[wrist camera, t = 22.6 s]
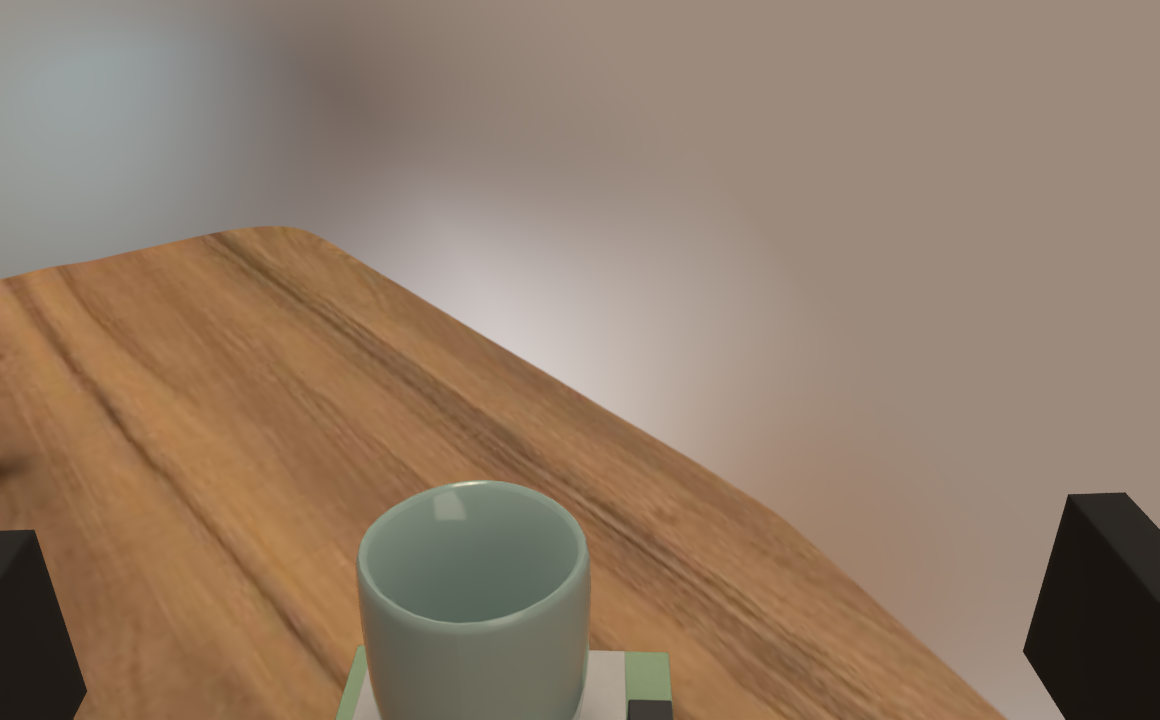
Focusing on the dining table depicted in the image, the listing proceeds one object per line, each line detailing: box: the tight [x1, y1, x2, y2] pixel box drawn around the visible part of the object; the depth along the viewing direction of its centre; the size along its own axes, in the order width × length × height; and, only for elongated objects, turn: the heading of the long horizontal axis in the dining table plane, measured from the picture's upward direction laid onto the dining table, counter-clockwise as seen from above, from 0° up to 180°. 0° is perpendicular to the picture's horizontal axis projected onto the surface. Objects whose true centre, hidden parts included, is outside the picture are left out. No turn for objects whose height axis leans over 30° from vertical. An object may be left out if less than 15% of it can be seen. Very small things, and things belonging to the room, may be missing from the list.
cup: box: [356, 480, 591, 720], centre depth 35 cm, size 8×8×10 cm
